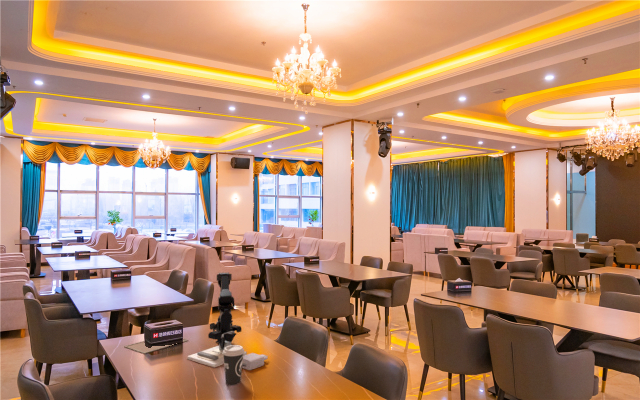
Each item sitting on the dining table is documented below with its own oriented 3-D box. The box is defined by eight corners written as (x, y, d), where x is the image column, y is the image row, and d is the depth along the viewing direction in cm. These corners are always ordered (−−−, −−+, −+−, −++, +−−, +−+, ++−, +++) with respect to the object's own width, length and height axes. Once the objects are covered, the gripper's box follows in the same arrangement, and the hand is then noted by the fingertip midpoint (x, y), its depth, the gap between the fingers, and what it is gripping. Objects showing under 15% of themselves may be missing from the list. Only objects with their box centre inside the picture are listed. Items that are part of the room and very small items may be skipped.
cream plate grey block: (224, 347, 232) (224, 338, 232) (237, 350, 226) (237, 341, 227) (212, 351, 226) (212, 341, 226) (226, 355, 220) (226, 345, 220)
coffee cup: (234, 376, 197) (235, 343, 197) (248, 381, 190) (248, 347, 191) (217, 382, 189) (218, 348, 189) (231, 388, 183) (231, 352, 183)
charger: (273, 362, 215) (250, 371, 203) (260, 358, 220) (237, 366, 209) (273, 353, 215) (250, 361, 203) (260, 349, 221) (237, 356, 209)
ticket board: (220, 347, 236) (220, 342, 236) (246, 354, 225) (246, 348, 225) (187, 359, 218) (187, 353, 218) (214, 367, 207) (214, 361, 207)
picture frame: (144, 355, 225) (188, 341, 248) (144, 353, 225) (188, 339, 248) (124, 348, 236) (168, 336, 259) (124, 346, 236) (168, 334, 259)
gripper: (227, 313, 239) (227, 341, 238) (201, 320, 223) (200, 350, 223) (242, 315, 232) (242, 344, 232) (216, 323, 217) (215, 354, 217)
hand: (225, 348), depth 226 cm, fingers open, 4 cm apart
